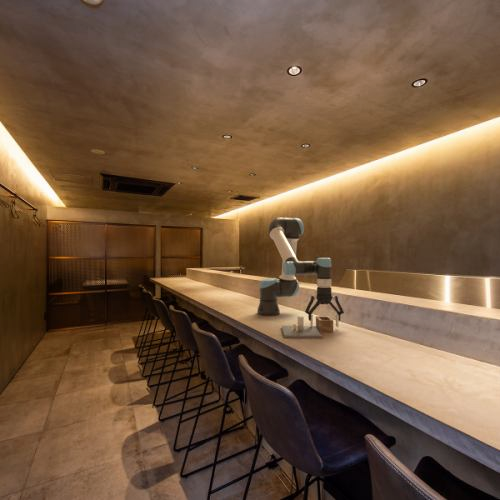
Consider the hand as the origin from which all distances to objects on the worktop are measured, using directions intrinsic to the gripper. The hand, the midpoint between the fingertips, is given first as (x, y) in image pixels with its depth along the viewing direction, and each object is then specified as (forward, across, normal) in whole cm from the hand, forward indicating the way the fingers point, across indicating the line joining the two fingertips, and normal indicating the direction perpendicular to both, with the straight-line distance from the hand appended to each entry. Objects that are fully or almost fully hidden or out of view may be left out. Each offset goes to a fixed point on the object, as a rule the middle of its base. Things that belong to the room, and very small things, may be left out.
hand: (324, 326), depth 154 cm
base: (+1, -14, -7) cm, 15 cm away
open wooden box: (+1, 0, 0) cm, 1 cm away
